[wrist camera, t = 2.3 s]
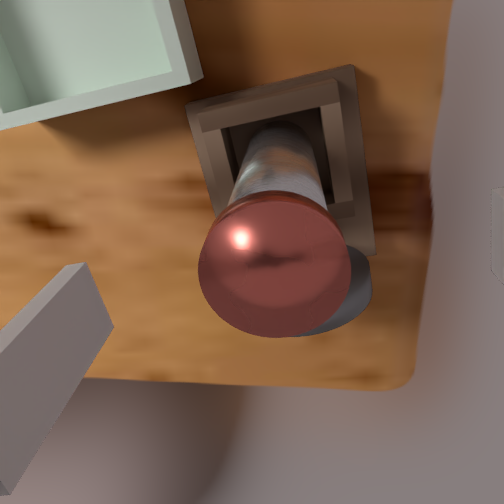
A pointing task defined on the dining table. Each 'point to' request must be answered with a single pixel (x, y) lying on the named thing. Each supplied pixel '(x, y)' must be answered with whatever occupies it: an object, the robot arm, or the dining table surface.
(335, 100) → the block
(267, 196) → the pin
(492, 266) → the robot arm
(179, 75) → the tray
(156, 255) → the dining table surface
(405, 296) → the dining table surface
